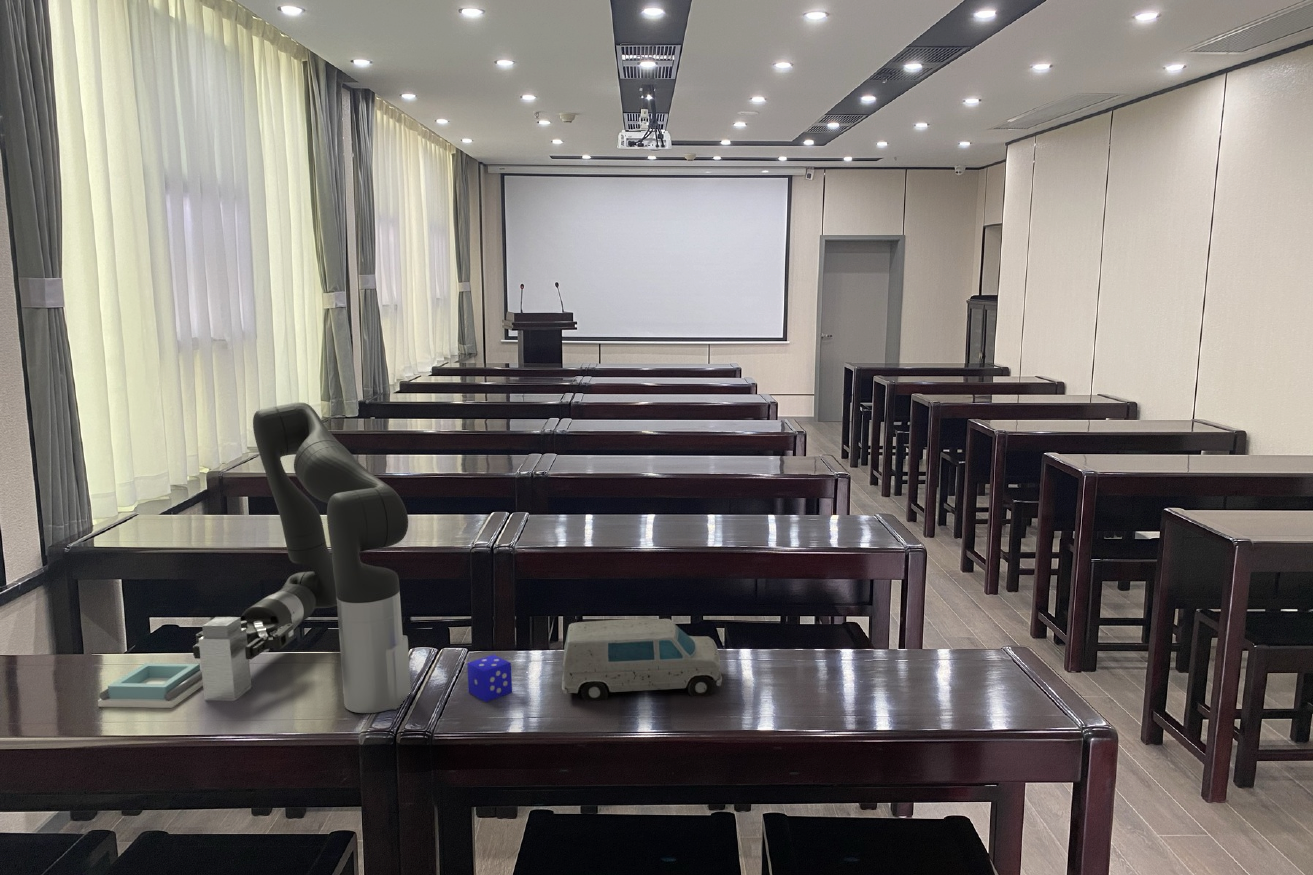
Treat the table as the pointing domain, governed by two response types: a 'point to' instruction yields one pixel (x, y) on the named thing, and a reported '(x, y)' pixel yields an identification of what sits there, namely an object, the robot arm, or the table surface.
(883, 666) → the table surface
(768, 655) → the table surface
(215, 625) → the stepped metal tower
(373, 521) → the robot arm
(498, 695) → the die
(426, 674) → the table surface
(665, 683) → the toy car
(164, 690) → the tray
